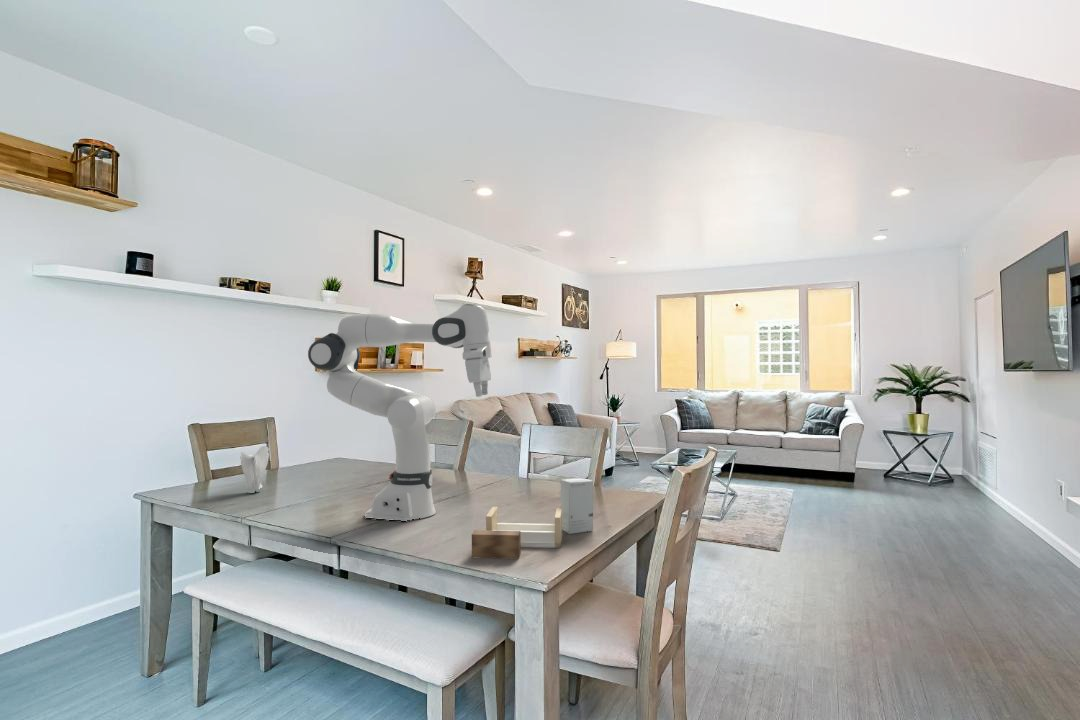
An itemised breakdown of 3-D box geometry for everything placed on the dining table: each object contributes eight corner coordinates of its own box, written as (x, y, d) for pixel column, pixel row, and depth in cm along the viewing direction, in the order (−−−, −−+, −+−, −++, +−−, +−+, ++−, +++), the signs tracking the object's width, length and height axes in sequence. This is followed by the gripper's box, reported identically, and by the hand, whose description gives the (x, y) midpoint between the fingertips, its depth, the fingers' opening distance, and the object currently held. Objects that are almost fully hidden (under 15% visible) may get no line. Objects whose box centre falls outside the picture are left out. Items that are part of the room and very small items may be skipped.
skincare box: (569, 534, 156) (568, 482, 156) (559, 529, 162) (559, 478, 162) (594, 531, 160) (594, 480, 160) (584, 525, 165) (584, 476, 165)
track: (486, 546, 147) (486, 516, 147) (492, 534, 157) (492, 506, 157) (560, 547, 145) (560, 517, 145) (562, 536, 155) (562, 507, 155)
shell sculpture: (237, 495, 209) (237, 447, 209) (252, 490, 217) (251, 444, 217) (256, 495, 207) (256, 448, 208) (270, 490, 216) (270, 445, 216)
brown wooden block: (471, 558, 138) (471, 534, 139) (474, 553, 142) (474, 530, 142) (518, 559, 137) (518, 535, 137) (520, 554, 141) (520, 531, 141)
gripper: (474, 355, 189) (479, 394, 189) (460, 353, 168) (465, 398, 168) (492, 353, 188) (497, 393, 188) (481, 351, 168) (485, 396, 168)
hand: (482, 395), depth 178 cm, fingers open, 8 cm apart
